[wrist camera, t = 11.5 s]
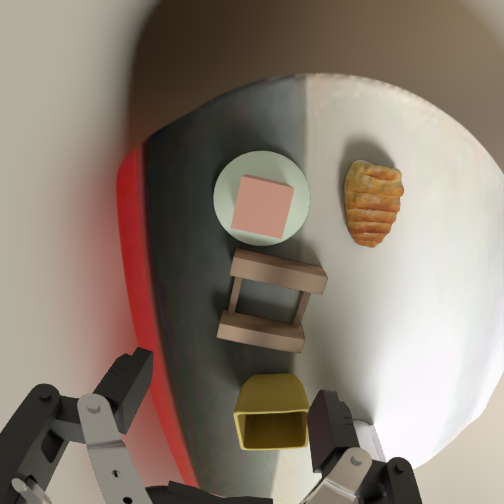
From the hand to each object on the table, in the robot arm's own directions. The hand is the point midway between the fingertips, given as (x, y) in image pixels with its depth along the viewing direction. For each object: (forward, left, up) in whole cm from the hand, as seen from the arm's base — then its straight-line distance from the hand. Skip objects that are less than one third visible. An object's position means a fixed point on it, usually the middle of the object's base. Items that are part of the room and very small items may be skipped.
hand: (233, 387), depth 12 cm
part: (0, -6, -20) cm, 21 cm away
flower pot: (-7, +19, -21) cm, 29 cm away
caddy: (-3, +5, -21) cm, 21 cm away
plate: (0, -6, -21) cm, 22 cm away
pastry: (-12, -9, -21) cm, 26 cm away
